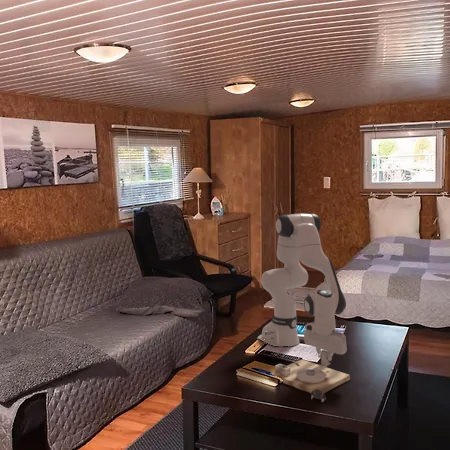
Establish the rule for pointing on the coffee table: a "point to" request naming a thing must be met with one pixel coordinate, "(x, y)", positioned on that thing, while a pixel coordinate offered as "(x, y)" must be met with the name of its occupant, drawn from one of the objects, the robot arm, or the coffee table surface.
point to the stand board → (289, 377)
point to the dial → (314, 371)
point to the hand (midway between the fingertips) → (324, 358)
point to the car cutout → (318, 395)
